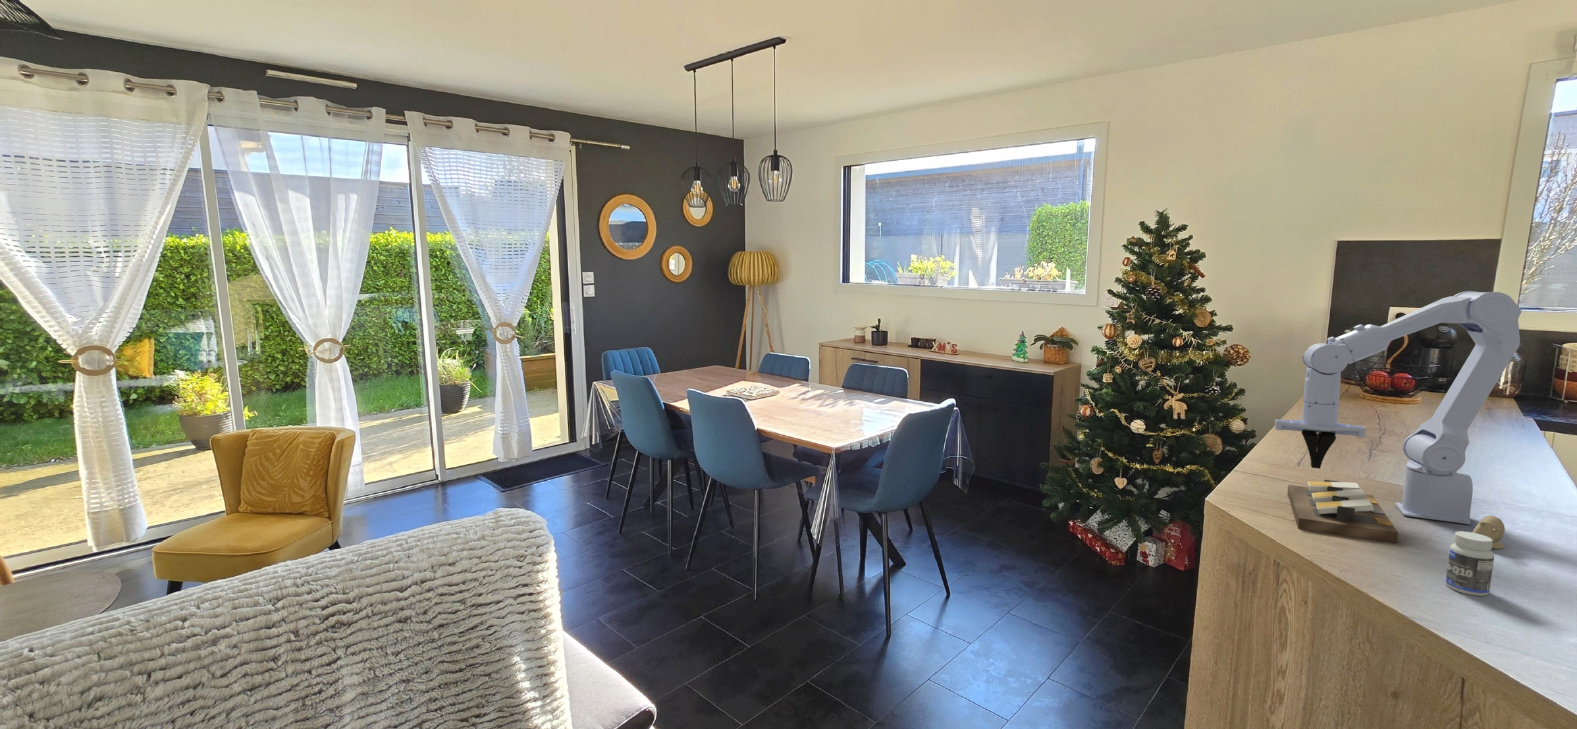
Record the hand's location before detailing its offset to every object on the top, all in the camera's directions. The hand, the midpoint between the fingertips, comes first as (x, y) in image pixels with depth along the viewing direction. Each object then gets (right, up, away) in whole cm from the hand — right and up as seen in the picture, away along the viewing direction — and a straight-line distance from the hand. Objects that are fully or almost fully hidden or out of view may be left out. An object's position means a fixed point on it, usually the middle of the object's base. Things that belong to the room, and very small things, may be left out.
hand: (1315, 467), depth 140 cm
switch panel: (-1, -9, -7) cm, 11 cm away
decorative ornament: (+13, -11, -21) cm, 27 cm away
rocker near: (-5, -5, -13) cm, 15 cm away
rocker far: (+3, -4, -1) cm, 5 cm away
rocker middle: (-1, -5, -7) cm, 9 cm away
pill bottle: (-7, -13, -38) cm, 41 cm away
